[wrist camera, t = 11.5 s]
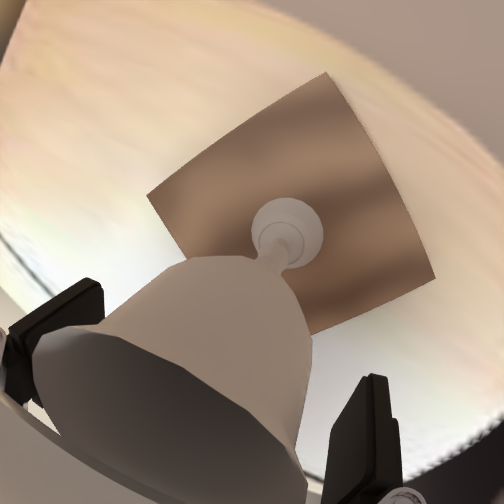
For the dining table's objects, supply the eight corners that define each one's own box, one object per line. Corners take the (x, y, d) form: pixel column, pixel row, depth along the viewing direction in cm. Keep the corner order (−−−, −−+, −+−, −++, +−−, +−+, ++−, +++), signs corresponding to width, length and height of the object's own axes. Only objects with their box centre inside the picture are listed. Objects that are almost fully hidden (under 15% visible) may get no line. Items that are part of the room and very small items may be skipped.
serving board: (429, 267, 22) (435, 278, 20) (260, 342, 28) (254, 356, 26) (327, 77, 19) (326, 71, 17) (159, 190, 26) (146, 195, 24)
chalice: (242, 176, 21) (-2, 285, 5) (343, 188, 20) (358, 392, 3) (236, 274, 24) (82, 474, 8) (327, 289, 22) (280, 547, 6)
